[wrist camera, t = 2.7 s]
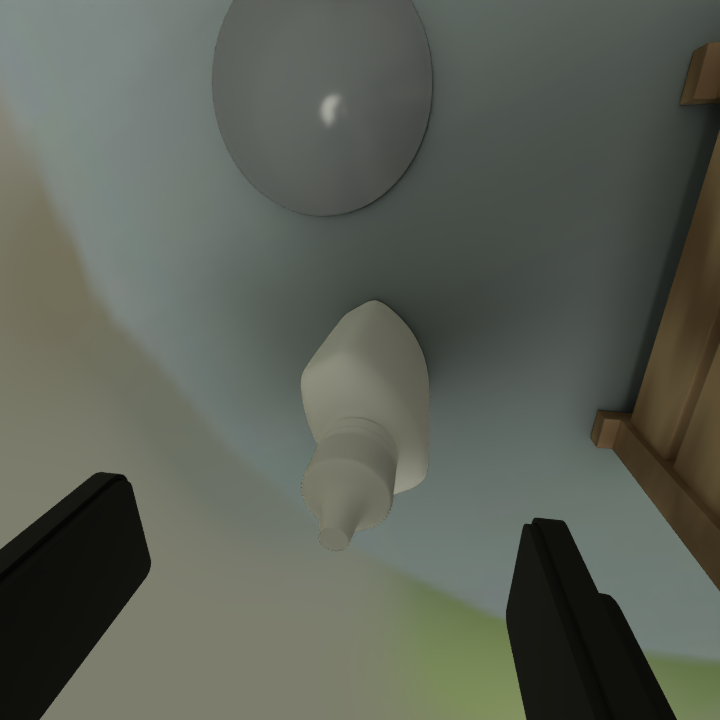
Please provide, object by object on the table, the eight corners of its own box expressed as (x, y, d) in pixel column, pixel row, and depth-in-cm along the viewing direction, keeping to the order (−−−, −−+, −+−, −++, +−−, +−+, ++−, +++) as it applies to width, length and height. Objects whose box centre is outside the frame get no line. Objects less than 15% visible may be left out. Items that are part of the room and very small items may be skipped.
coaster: (204, -34, 15) (196, -42, 14) (441, -57, 14) (441, -68, 13) (232, 215, 18) (226, 215, 18) (424, 216, 17) (424, 216, 16)
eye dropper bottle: (347, 399, 21) (258, 612, 10) (341, 297, 19) (222, 426, 8) (428, 402, 20) (428, 636, 9) (431, 297, 18) (437, 439, 7)
